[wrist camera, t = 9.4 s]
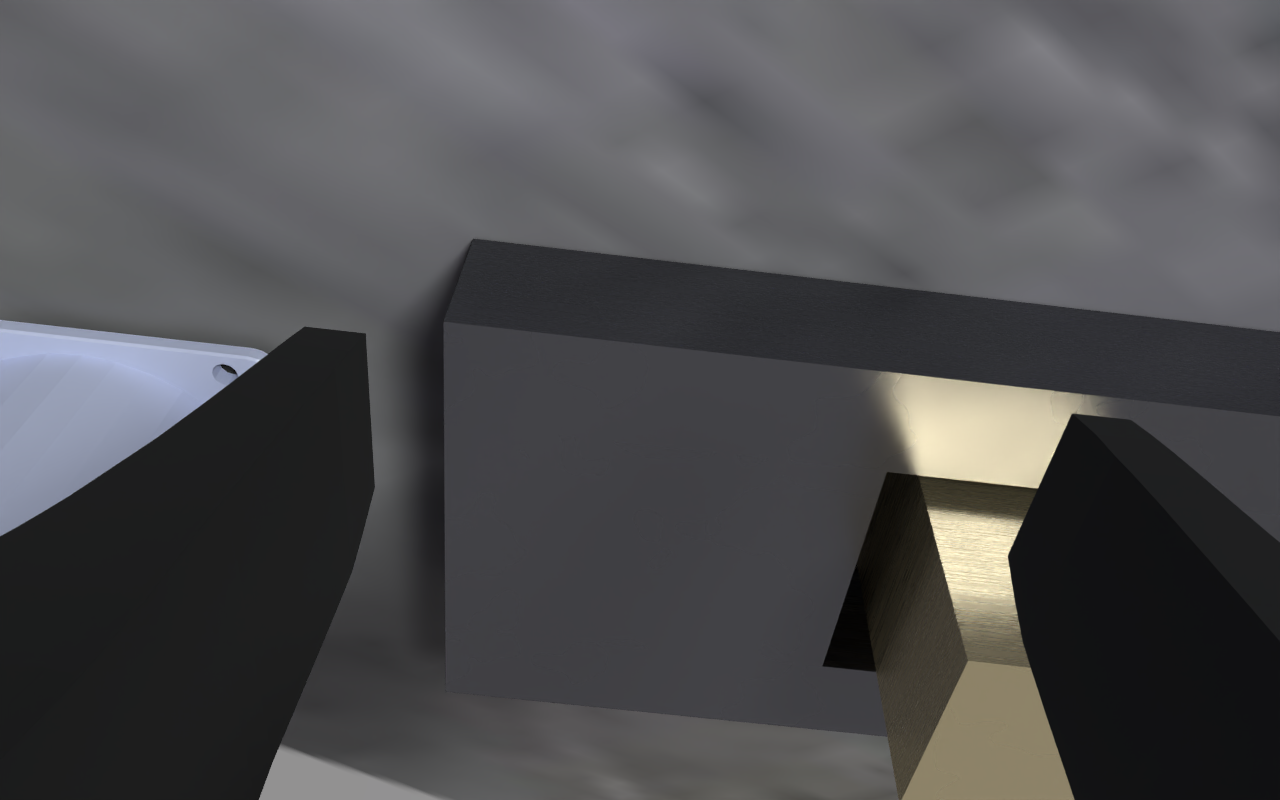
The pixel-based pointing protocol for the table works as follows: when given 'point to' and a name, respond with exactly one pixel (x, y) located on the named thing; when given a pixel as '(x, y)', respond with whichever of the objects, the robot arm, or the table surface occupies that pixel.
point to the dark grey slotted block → (762, 463)
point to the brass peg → (954, 643)
